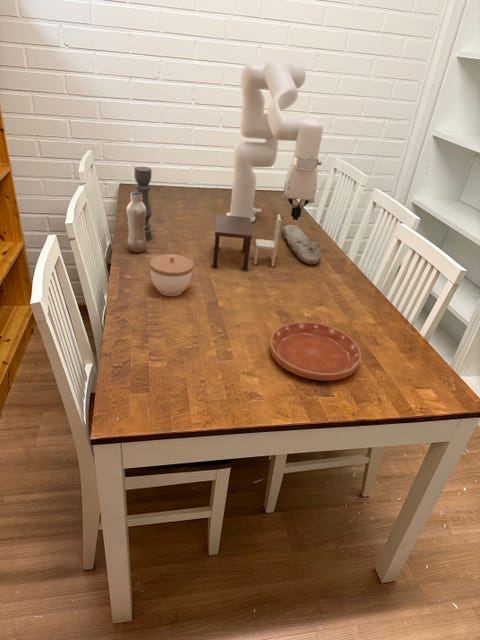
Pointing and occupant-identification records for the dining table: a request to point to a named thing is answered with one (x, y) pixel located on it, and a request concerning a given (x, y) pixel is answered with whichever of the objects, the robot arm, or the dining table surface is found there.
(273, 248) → the chair
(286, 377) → the dining table surface
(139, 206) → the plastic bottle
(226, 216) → the toy table
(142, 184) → the candle holder
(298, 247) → the long grey stone
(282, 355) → the saucer
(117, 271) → the dining table surface
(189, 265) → the lidded bowl
